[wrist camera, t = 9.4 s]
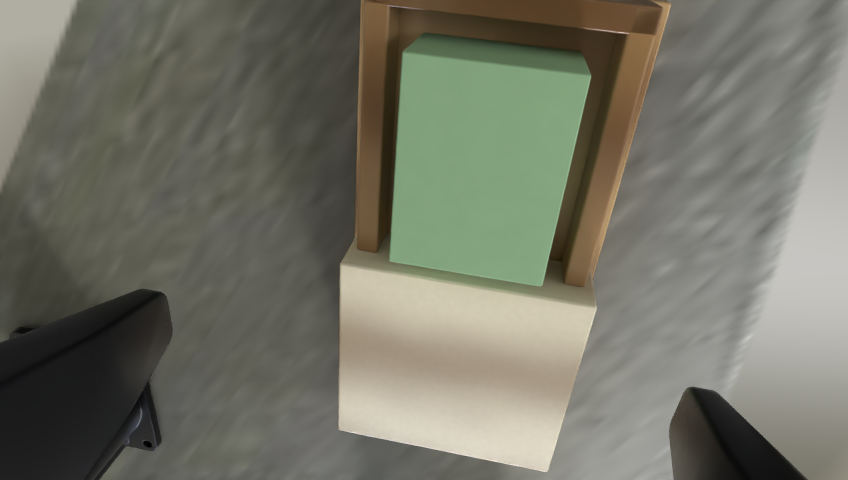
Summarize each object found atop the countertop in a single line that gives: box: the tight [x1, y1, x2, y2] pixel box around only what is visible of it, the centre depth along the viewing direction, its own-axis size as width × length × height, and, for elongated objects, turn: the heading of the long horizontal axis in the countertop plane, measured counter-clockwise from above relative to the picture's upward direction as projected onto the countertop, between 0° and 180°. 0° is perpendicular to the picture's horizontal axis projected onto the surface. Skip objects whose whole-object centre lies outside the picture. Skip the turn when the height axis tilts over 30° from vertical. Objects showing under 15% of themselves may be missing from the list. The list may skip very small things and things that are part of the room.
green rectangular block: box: [389, 32, 591, 286], centre depth 16 cm, size 6×4×3 cm
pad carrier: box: [338, 0, 671, 472], centre depth 18 cm, size 16×8×3 cm, turn 175°
